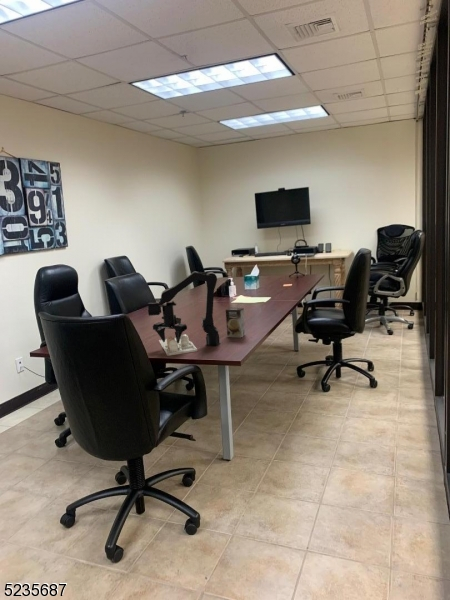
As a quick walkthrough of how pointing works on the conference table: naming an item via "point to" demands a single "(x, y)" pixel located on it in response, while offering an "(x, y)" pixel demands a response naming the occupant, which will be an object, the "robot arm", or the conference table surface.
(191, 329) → the conference table surface
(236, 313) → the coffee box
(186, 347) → the egg carton
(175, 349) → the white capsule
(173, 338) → the brown egg
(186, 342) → the cream egg back
